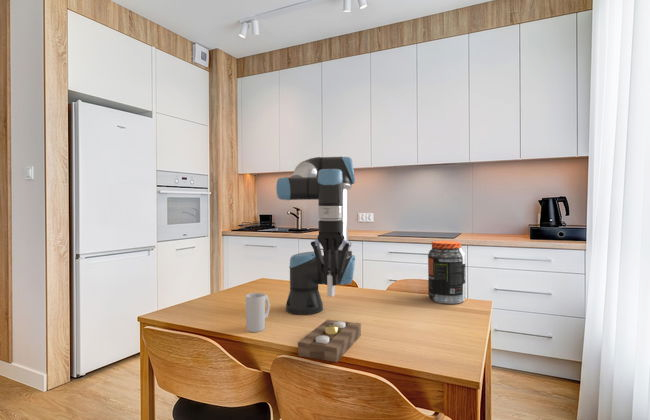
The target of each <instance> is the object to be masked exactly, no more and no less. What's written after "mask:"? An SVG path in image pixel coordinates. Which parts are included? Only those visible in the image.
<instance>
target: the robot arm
mask: <svg viewBox="0 0 650 420" xmlns="http://www.w3.org/2000/svg"><path fill="white" fill-rule="evenodd" d="M354 170H355V169H354V164H353V160H352V158H351V157H349V156H341V155H340V156H321V157H320V156H318V157H317V156H316V157H311V158H308V159H305V160H303V161H301V162H299V163H298V164H297V165H296V167H295V168H294V171H293V173H292V174H291V176H289V177H288V176H284V177H278V179H277V181H276V184H275V185H276V187H275V188H276V189H275V190H276V195H277V199H279V200H281V201H282V200H283V201H285V200H286V201H294V200H295V201H298V200H299V201H300V200H302V201H303V200H306V201H307V200H308V201H309V200H310V201H311V200H315V201H316V200H318V210H317V211H318V213H317V214H318V216H317V217H318V219H319V220H318V235H317V237H316V239H315V240H313V241H310V246H311V247H312V249H313V251H304V252H299V253H296V254H293V255H291V256H290V259H289V293H288V297H287V300H286V304H285V311H286V312H287V313H289V314H293V315H313V314H317V313H320V312H322V311H323V309H324V304H323V303H324V302H323V301H322V300H323V299H322V297H321V294H320V291H319V285H325V286H326V288H327V289H326V293H327V295H326V297H334V296H335V295H336V286H337V285H340V286H341V285H350V284H351V283H352V282H353V279H354V272H355V262H356V255H354V254H353V251H352V249H350V248H351V247H352V242H351V241H349V191H350V190H351V189H352V185H353V184H355V183H356V181H355V179H356V178H355V171H354ZM321 247H322V249H321ZM321 250H322V251H321ZM322 253H323V255H322Z"/></svg>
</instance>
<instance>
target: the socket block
mask: <svg viewBox="0 0 650 420" xmlns="http://www.w3.org/2000/svg"><path fill="white" fill-rule="evenodd" d="M337 321H338V320H335V319H329V318H328V319H326V320H325V321H324V322H321V324H319V325H318V326H317V327H315V328H313V330H311V331H310V332H309V333H307V334H306V335H305V336H304V337H303V338H301V339H300V340H299V341H297V355H298V356H299V357H305V358H310V359H316V360H322V361H328V362H333V363H338V362H339V361H340V359H341V358H342V357H343V356H344V355H345V354H346V353H347V351H348V350H350V349H351V347H352V346H353V345H354V344H355V343H356V342H357V341H358V340H359V338H361V336H362V334H361V333H362V329H361V328H362V325H361V323H360V322H359V323H358V322H351V321H349V322H348V321H344V320H343V321H342V320H341V321H342V322H345V323H346V327H345V328H338V334H337V335H336V336H335V335H328V334H325V326H326V325H333V323H334V322H337ZM321 335H324V336H328V337H329V342H328V343H327V344H324V343H318V342H316V337H317V336H321Z"/></svg>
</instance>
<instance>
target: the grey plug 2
mask: <svg viewBox="0 0 650 420" xmlns="http://www.w3.org/2000/svg"><path fill="white" fill-rule="evenodd" d="M336 321H337V322H334V323H333V325H337V326H338V328H345V327H346V323H345V322H346V321H344V322H342V320H336Z"/></svg>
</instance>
